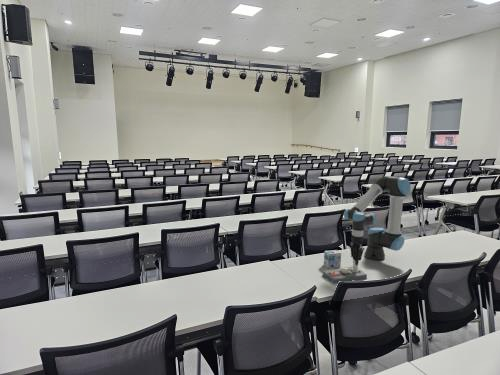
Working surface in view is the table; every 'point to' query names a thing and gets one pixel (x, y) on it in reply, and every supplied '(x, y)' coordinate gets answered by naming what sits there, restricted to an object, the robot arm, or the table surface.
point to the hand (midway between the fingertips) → (355, 268)
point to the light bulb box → (332, 258)
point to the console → (344, 275)
